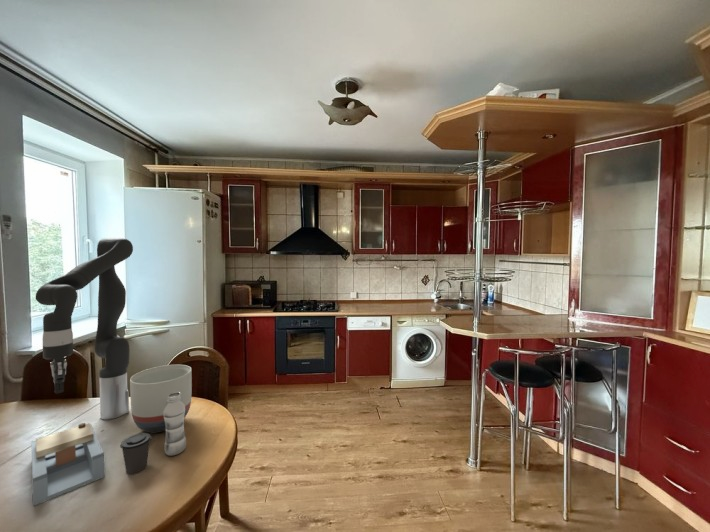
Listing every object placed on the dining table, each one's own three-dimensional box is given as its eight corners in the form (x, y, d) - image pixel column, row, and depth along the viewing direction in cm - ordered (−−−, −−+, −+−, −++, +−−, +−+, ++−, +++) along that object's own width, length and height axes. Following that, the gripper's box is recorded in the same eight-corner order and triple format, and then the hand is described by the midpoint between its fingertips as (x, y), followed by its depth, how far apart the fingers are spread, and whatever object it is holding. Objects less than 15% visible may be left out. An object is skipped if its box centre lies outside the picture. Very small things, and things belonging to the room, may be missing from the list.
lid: (89, 428, 108) (89, 420, 108) (93, 439, 101) (93, 431, 101) (35, 445, 98) (35, 436, 98) (36, 458, 92) (36, 449, 92)
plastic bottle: (190, 448, 107) (189, 391, 107) (173, 460, 101) (172, 400, 100) (176, 444, 109) (175, 389, 109) (159, 456, 103) (158, 397, 102)
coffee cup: (117, 481, 91) (117, 448, 91) (123, 465, 99) (122, 434, 98) (150, 472, 95) (149, 440, 95) (153, 457, 102) (153, 427, 102)
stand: (91, 441, 112) (91, 420, 112) (104, 476, 93) (104, 452, 93) (31, 461, 101) (31, 438, 101) (33, 505, 82) (32, 478, 82)
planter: (143, 449, 106) (141, 388, 106) (123, 430, 119) (121, 375, 118) (201, 424, 123) (201, 371, 122) (179, 409, 135) (178, 361, 134)
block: (74, 453, 103) (73, 438, 103) (75, 459, 100) (75, 444, 100) (55, 460, 100) (55, 444, 100) (56, 466, 97) (56, 450, 96)
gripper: (75, 343, 104) (76, 394, 104) (71, 337, 113) (72, 383, 113) (43, 348, 98) (44, 402, 99) (41, 341, 107) (43, 390, 108)
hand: (59, 392), depth 106 cm, fingers closed
